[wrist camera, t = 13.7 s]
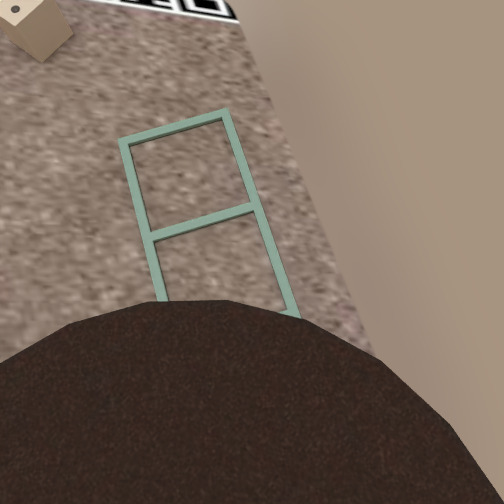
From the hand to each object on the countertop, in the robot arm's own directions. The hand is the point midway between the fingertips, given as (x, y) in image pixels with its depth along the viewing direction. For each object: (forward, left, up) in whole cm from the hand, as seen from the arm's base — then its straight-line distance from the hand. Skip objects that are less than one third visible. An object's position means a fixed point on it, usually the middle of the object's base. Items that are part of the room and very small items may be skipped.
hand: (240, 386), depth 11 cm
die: (+9, +38, -20) cm, 44 cm away
